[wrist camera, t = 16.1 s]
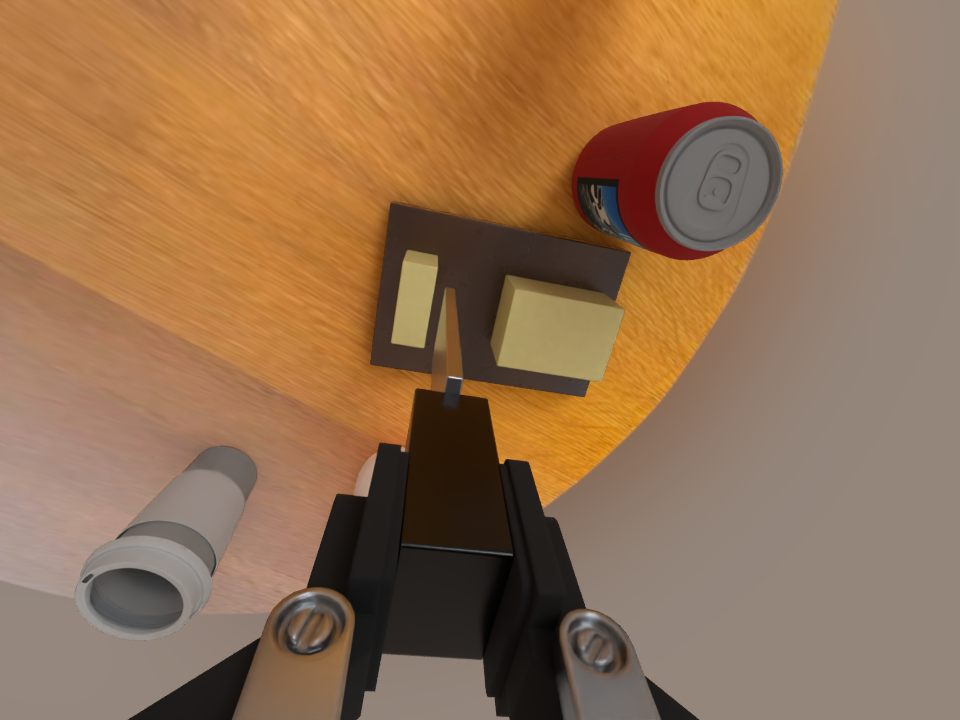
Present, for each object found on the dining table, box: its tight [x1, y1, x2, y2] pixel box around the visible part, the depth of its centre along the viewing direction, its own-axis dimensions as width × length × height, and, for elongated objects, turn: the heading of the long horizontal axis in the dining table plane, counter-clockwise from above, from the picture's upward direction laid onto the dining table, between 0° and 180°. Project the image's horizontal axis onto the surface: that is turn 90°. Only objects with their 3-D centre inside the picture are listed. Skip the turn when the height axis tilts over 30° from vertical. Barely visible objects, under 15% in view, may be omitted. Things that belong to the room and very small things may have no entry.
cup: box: [75, 446, 257, 641], centre depth 31 cm, size 7×7×12 cm
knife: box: [382, 287, 515, 660], centre depth 16 cm, size 2×4×16 cm, turn 168°
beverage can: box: [572, 102, 783, 260], centre depth 25 cm, size 7×7×12 cm
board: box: [370, 201, 631, 397], centre depth 32 cm, size 16×11×2 cm
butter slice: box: [391, 250, 438, 348], centre depth 29 cm, size 2×5×4 cm, turn 168°
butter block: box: [490, 275, 625, 382], centre depth 30 cm, size 7×5×4 cm
